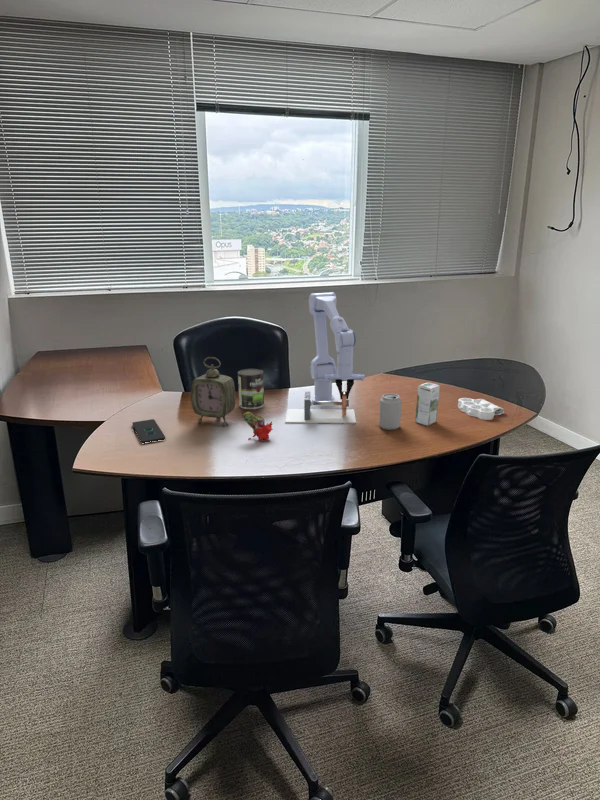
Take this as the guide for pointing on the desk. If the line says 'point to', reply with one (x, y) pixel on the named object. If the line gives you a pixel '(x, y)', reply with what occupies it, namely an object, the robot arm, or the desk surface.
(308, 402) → the square hole plate
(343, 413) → the bolt with copper washer
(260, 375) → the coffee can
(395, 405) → the can
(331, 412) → the base board
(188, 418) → the desk surface
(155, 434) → the black flat block
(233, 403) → the tabletop clock
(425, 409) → the syrup box
